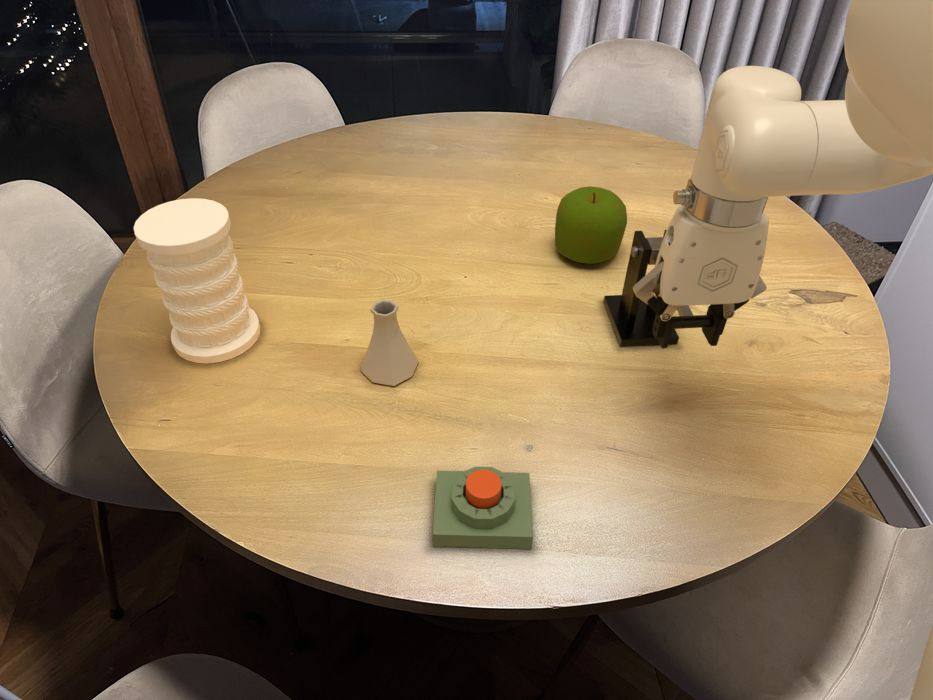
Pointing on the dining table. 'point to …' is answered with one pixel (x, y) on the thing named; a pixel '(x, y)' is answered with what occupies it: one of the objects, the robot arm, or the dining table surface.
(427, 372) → the dining table surface
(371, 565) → the dining table surface
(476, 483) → the stop button
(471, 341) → the dining table surface
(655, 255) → the lever
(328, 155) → the dining table surface
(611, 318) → the switch bracket
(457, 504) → the button block
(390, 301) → the flask
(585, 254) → the apple
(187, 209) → the decorative container
